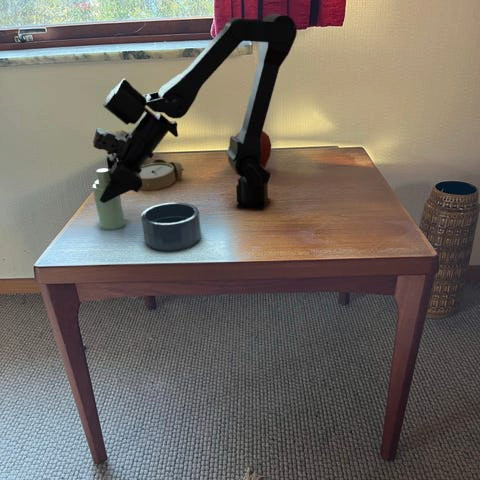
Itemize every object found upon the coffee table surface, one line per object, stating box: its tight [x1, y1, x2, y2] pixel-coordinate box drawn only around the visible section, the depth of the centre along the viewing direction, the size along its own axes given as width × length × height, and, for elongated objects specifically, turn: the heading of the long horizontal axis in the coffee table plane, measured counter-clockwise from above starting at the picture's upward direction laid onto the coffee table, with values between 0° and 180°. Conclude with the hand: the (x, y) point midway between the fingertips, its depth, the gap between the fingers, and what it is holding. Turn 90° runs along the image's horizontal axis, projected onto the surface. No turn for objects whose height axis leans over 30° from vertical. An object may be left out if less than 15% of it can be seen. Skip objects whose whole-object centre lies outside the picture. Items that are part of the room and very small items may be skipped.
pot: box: [140, 202, 202, 252], centre depth 105 cm, size 12×12×6 cm
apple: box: [234, 130, 272, 169], centre depth 139 cm, size 11×11×12 cm
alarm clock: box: [139, 158, 185, 191], centre depth 137 cm, size 11×5×15 cm
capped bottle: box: [92, 168, 126, 230], centre depth 112 cm, size 5×5×12 cm
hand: (100, 197), depth 111 cm, fingers closed on capped bottle, 5 cm apart
